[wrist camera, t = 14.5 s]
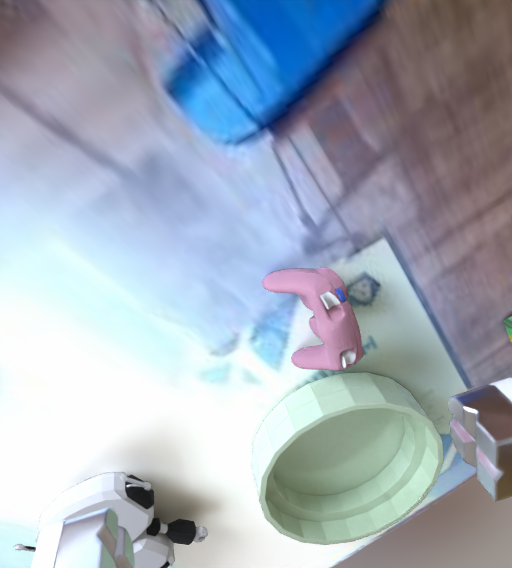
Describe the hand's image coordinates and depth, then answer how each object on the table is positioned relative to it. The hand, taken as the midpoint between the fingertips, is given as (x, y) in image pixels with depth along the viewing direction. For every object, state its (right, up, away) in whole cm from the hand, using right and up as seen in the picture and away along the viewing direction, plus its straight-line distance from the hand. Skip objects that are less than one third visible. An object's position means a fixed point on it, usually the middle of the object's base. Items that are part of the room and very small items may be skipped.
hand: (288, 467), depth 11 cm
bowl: (+8, -12, +38) cm, 41 cm away
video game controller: (+4, +2, +31) cm, 31 cm away
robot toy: (-14, -19, +37) cm, 44 cm away
